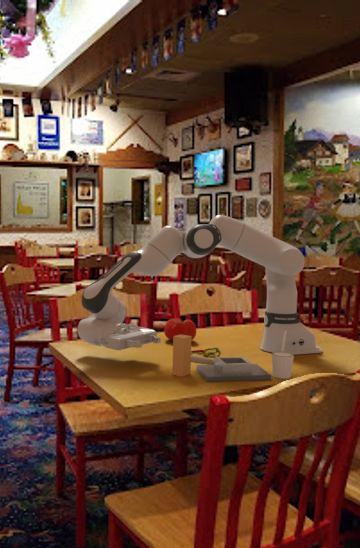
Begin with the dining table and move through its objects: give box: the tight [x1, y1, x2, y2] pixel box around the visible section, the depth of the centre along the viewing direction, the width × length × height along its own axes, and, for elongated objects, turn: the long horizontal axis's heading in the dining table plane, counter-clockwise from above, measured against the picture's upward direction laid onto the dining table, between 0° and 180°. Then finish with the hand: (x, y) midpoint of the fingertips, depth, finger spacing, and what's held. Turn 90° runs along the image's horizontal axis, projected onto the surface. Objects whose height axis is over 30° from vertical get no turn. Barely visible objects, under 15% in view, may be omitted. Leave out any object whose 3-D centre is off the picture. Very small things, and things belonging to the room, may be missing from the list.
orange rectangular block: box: [171, 335, 192, 378], centre depth 198 cm, size 4×4×12 cm
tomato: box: [163, 317, 197, 342], centre depth 248 cm, size 13×12×8 cm
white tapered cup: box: [271, 352, 295, 379], centre depth 200 cm, size 7×7×7 cm
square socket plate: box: [195, 356, 272, 383], centre depth 200 cm, size 20×14×4 cm
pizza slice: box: [191, 347, 221, 365], centre depth 224 cm, size 16×21×3 cm
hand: (150, 342), depth 205 cm, fingers open, 8 cm apart
